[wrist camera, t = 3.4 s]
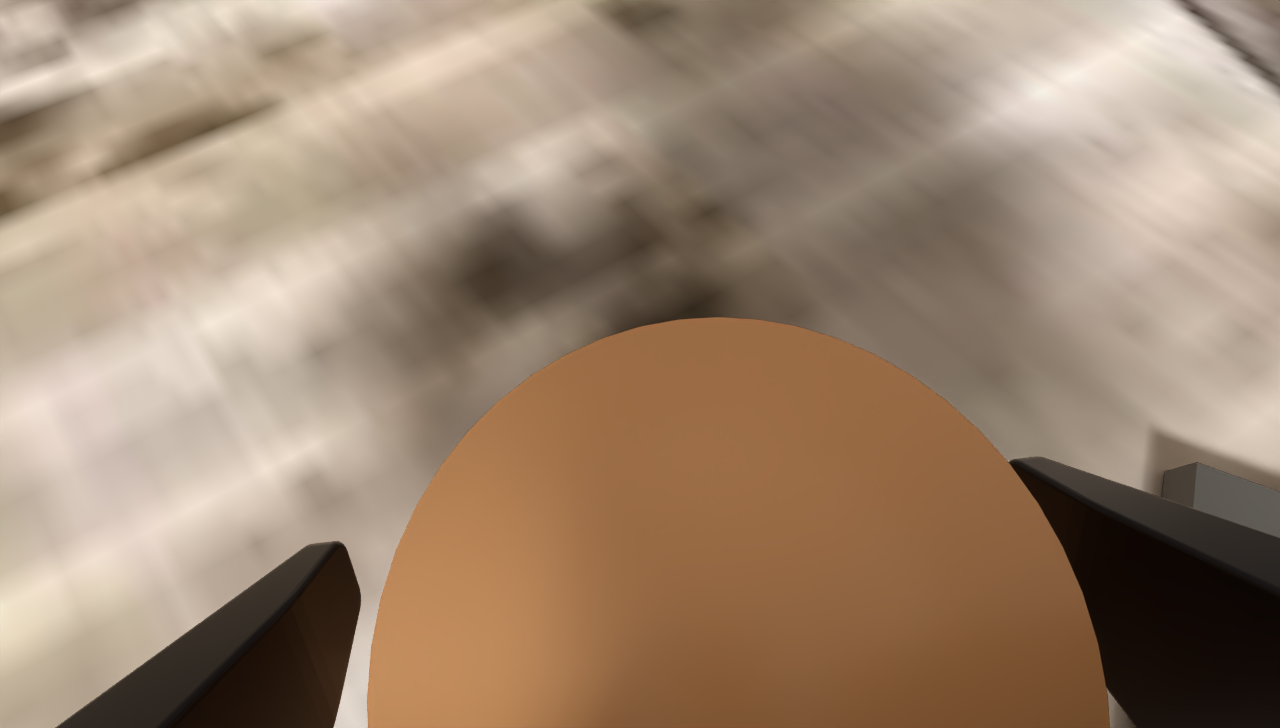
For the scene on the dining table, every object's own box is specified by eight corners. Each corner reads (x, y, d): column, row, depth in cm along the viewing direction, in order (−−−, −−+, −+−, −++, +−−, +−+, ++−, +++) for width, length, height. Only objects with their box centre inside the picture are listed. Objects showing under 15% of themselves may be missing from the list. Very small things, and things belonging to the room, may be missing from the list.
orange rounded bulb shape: (776, 872, 11) (1045, 1353, 4) (472, 725, 12) (210, 891, 5) (865, 544, 13) (1149, 450, 6) (599, 438, 14) (558, 237, 7)
